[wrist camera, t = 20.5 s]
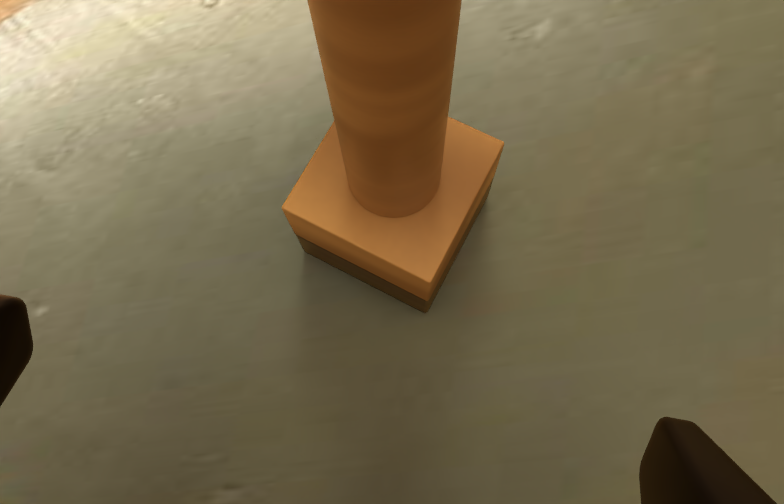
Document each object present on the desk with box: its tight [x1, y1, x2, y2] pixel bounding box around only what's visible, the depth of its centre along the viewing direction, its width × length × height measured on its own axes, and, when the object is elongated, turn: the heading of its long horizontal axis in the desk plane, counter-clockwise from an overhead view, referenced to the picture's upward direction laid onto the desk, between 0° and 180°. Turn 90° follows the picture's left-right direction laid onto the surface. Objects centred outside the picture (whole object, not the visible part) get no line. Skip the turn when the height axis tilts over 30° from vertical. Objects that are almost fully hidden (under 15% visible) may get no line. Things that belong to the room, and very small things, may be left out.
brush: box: [282, 0, 504, 313], centre depth 17 cm, size 5×5×15 cm
